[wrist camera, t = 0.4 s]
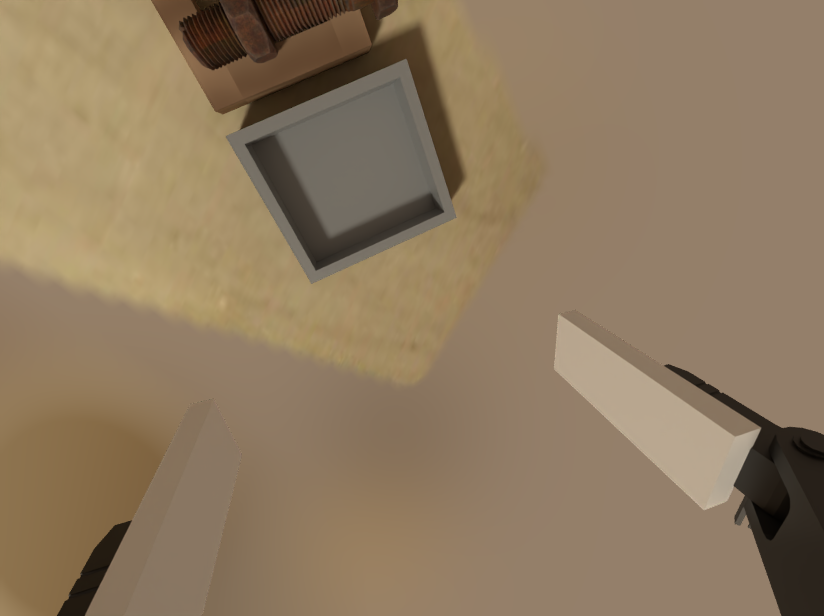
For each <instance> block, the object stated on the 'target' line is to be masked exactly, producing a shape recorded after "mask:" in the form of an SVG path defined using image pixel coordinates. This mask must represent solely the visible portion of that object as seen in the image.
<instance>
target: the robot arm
mask: <svg viewBox="0 0 824 616" xmlns="http://www.w3.org/2000/svg"><path fill="white" fill-rule="evenodd" d="M557 328H558V329H557V340H556V351H555V365H554V369H555V370H556V371H557V372H558V373H559V374H560V375H561V376H562V377H563V378H564V379H565V380H566V381H567V382H568V383H570V384H571V385H572V386H573V387H574V388H575V389H576V390H577V391H578V392H579V393H580V394H581V395H582V396H584V398H585V399H586V400H588V401H589V402H590V403H591V404H592V405H593V406H594V407H595V408H596V409H597V410H598V411H599V412H600V413H601V414H602V415H603V416H605V417H606V418H607V419H608V420H609V421H610V422H611V423H612V424H613V425H614V426H615V427H616V428H617V429H618V430H619V431H620V432H622V433H623V434H624V435H625V436H626V437H627V438H628V439H629V440H630V441H631V442H632V443H633V444H634V445H635V446H636V447H637V448H638V449H640V450H641V451H642V452H643V453H644V454H645V455H646V456H647V457H648V458H649V459H650V460H651V461H652V462H654V464H656V466H658V467H659V468H660V469H661V470H662V471H663V472H664V473H665V474H666V475H667V476H668V477H669V478H670V479H672V481H673V482H675V483H676V484H677V485H678V486H679V487H680V488H681V489H682V490H683V491H684V492H685V493H686V494H687V495H688V496H689V497H690V498H692V499H693V500H694V501H695V502H696V503H697V504H698V505H699V506H700V507H701V508H702V509H703V510H705V509H708V508H711V507H713V506H716V505H719V504H721V503H724V502H727V500H728V498H729V496H730V494H731V492H732V490H733V488H734V486H735V487H736V488H737V489H738V490H739V491H741V492H742V493H743V494H744V495H745V497H744V499H743V501H742V503H741V505H740V507H739V509H738V511H737V513H736V515H735V524H737V525H741V523H742V521H743V519H744V517H745V515H747V518H748V520H749V525H748V528H750V529H752V532H753V535H754V538H755V541H756V544H757V547H758V549H759V552H760V555H761V558H762V561H763V564H764V567H765V570H766V572H767V575H768V578H769V581H770V584H771V587H772V590H773V592H774V596H775V599H776V601H777V604H778V607H779V610H780V613H781V616H824V435H823V434H821V433H818V432H815V431H812V430H808V429H804V428H796V427H787V428H781V427H779V426H777V425H775V424H773V423H772V422H770V421H769V420H767V419H765V418H764V417H762V416H760V415H759V414H757V413H756V412H754V411H752V410H750V409H749V408H747V407H746V406H744V405H742V404H741V403H739V402H737V401H736V400H734V399H733V398H731V397H729V396H728V395H726V394H724V393H720V392H719V390H718V389H716V388H714V387H713V386H711V385H709V384H706V383H705V382H704V381H703V380H701V379H699V378H698V377H696V376H694V375H693V374H691V373H689V372H688V371H685V370H682V369H680V368H677V367H675V366H672V365H669V364H668V365H665V366H663V365H661V364H660V363H658V362H657V361H655V360H654V359H652V358H651V357H649V356H647V355H646V354H644V353H643V352H641V351H639V350H638V349H636V348H635V347H633V346H631V345H630V344H628V343H627V342H625V341H624V340H622V339H621V338H619V337H617V336H616V335H614V334H613V333H611V332H610V331H608V330H606V329H605V328H603V327H602V326H600V325H598V324H597V323H595V322H594V321H592V320H591V319H589V318H587V317H586V316H584V315H583V314H581V313H579V312H578V311H576V310H573V311H569V312H565V313H561V314H559V315H558V327H557ZM241 456H242V453H241V451H240V449H239V447H238V445H237V443H236V442H235V439H234V437H233V435H232V433H231V431H230V429H229V427H228V425H227V424H226V421H225V419H224V418H223V416H222V414H221V411H220V410H219V407H218V405H217V403H216V401H215V400H214V399H209V400H206V401H201V402H197V403H193V404H190V405H189V407H188V409H187V411H186V413H185V415H184V417H183V419H182V421H181V423H180V425H179V427H178V429H177V431H176V433H175V435H174V437H173V439H172V441H171V443H170V446H169V447H168V450H167V451H166V454H165V455H164V457H163V459H162V461H161V463H160V466H159V468H158V470H157V472H156V474H155V476H154V478H153V480H152V482H151V484H150V486H149V488H148V490H147V492H146V494H145V496H144V498H143V500H142V502H141V504H140V506H139V508H138V510H137V512H136V514H135V516H134V518H133V520H131V521H128V522H125V523H121V524H118V525H115V526H114V527H113V528H112V529H111V530H110V532H109V533H108V534H107V535H106V536H105V537H104V538H103V539H102V541H101V542H100V543H99V544H98V545H97V546H96V547H95V549H94V550H93V552H92V554H91V556H90V558H89V559H88V561H87V563H86V565H85V566H84V568H83V570H82V572H81V577H80V578H79V579H77V581H76V583H75V584H74V586H73V588H72V590H71V591H70V593H69V599H68V600H66V601H65V602H64V604H63V606H62V608H61V610H60V611H59V613H58V615H57V616H202V615H203V611H204V606H205V602H206V598H207V594H208V590H209V586H210V582H211V578H212V574H213V570H214V566H215V562H216V558H217V554H218V550H219V546H220V542H221V537H222V534H223V530H224V526H225V521H226V517H227V513H228V509H229V505H230V501H231V497H232V493H233V489H234V485H235V481H236V477H237V472H238V469H239V465H240V461H241Z"/></svg>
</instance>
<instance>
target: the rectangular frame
mask: <svg viewBox="0 0 824 616" xmlns="http://www.w3.org/2000/svg"><path fill="white" fill-rule="evenodd" d="M151 1H152V3H153V4H154V6H155V8H156V10H157V11H158V13H159V15H160V16H161V18H162V20H163V22H164V23H165V25H166V27H167V29H168V30H169V32H170V34H171V36H172V37H173V39H174V41H175V42H176V44H177V46H178V48H179V49H180V51H181V53H182V55H183V56H184V58H185V60H186V62H187V63H188V65H189V67H190V68H191V70H192V72H193V74H194V75H195V77H196V79H197V81H198V82H199V84H200V86H201V88H202V89H203V91H204V93H205V94H206V96H207V98H208V100H209V101H210V103H211V105H212V107H213V108H214V110H215V111H216V112H218V113H221V114H225V113H227V112H229V111H232V110H234V109H237V108H239V107H241V106H244V105H246V104H248V103H251V102H253V101H255V100H258V99H260V98H262V97H265V96H267V95H269V94H272V93H274V92H277V91H279V90H281V89H284V88H286V87H288V86H291V85H293V84H295V83H298V82H300V81H302V80H305V79H307V78H309V77H312V76H314V75H317V74H319V73H321V72H324V71H326V70H328V69H331V68H333V67H335V66H338V65H340V64H342V63H345V62H347V61H349V60H352V59H354V58H357V57H359V56H361V55H364V54H366V53H368V52H369V50H370V48H371V46H372V43H371V40H370V37H369V35H368V32H367V29H366V26H365V23H364V20H363V17H362V15H361V12H360V9H358V10H356V11H350V12H347V11H346V12H345V14H344V13H343V12H341V16H340V15H339V14H338V13H337V17H335V16H333V19H331V18H330V17H329V20H328V21H327V20H326V22H325V23H322V24H320V25H317V26H315V27H313V28H310V29H308V30H306V31H303V32H301V33H298V34H296V35H294V36H291V37H289V38H287V39H284V40H283V41H279V43H278V42H277V43H275V44H276V47H277V50H278V55H277V57H276V58H274V59H271V60H269V61H267V62H264V63H255V62H254V61H253V60H252V59H251V58H250V57H249V55H246V57H244V56H243V57H242V59H240V58H238V61H236V60H234V62H231V63H230V64H226V66H222V68H220V67H219V69H215V70H211V69H209V68H206V67H204V66H203V65H201V64H200V63H199V61H198V60H197V59H196V58H195V57H194V56H193V54H192V53H191V52H190V51H189V49H188V48H187V46H186V44H185V43H184V41H183V33H182V32H181V31H180V30H179V21H182V22H183V17H184V18H186V19H187V16H190V17H192V14H194V15H196V12H198V13H200V14H201V10H200V9H199V7H198V5H197V3H196V1H195V0H151Z"/></svg>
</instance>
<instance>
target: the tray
mask: <svg viewBox="0 0 824 616" xmlns="http://www.w3.org/2000/svg"><path fill="white" fill-rule="evenodd" d="M226 138H227V139H228V141H229V143H230V145H231V146H232V148H233V150H234V151H235V153H236V155H237V157H238V158H239V160H240V162H241V163H242V165H243V167H244V169H245V170H246V172H247V174H248V176H249V177H250V179H251V181H252V182H253V184H254V186H255V188H256V189H257V191H258V193H259V194H260V196H261V198H262V200H263V201H264V203H265V205H266V206H267V208H268V210H269V212H270V213H271V215H272V217H273V218H274V220H275V222H276V224H277V225H278V227H279V229H280V231H281V232H282V234H283V236H284V237H285V239H286V241H287V243H288V244H289V246H290V248H291V249H292V251H293V253H294V255H295V256H296V258H297V260H298V261H299V263H300V265H301V267H302V268H303V270H304V272H305V273H306V275H307V277H308V279H309V280H310V282H311V284H312V283H314V282H317V281H319V280H321V279H323V278H325V277H328V276H330V275H332V274H334V273H336V272H339V271H341V270H343V269H345V268H347V267H349V266H352V265H354V264H356V263H358V262H360V261H363V260H365V259H367V258H369V257H371V256H374V255H376V254H378V253H380V252H382V251H384V250H387V249H389V248H391V247H393V246H395V245H398V244H400V243H402V242H404V241H406V240H409V239H411V238H413V237H415V236H417V235H419V234H422V233H424V232H426V231H428V230H430V229H433V228H435V227H437V226H439V225H441V224H444V223H446V222H448V221H450V220H452V219H454V218H457V217H456V214H455V211H454V208H453V205H452V201H451V198H450V195H449V192H448V189H447V185H446V182H445V179H444V176H443V173H442V170H441V166H440V163H439V160H438V157H437V154H436V151H435V147H434V144H433V141H432V138H431V135H430V132H429V128H428V125H427V122H426V119H425V116H424V112H423V109H422V106H421V103H420V100H419V97H418V93H417V90H416V87H415V84H414V81H413V78H412V74H411V71H410V68H409V65H408V62H407V59H404V60H402V61H400V62H397V63H395V64H393V65H390V66H388V67H386V68H383V69H381V70H379V71H376V72H374V73H372V74H369V75H367V76H365V77H362V78H360V79H358V80H355V81H353V82H351V83H348V84H346V85H344V86H341V87H339V88H337V89H334V90H332V91H330V92H327V93H325V94H323V95H320V96H318V97H316V98H313V99H311V100H309V101H306V102H304V103H302V104H299V105H297V106H295V107H292V108H290V109H288V110H285V111H283V112H281V113H278V114H276V115H274V116H271V117H269V118H267V119H264V120H262V121H260V122H257V123H255V124H253V125H250V126H248V127H246V128H243V129H241V130H239V131H236V132H234V133H232V134H229V135H227V136H226Z"/></svg>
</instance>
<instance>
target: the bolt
mask: <svg viewBox="0 0 824 616" xmlns="http://www.w3.org/2000/svg"><path fill="white" fill-rule="evenodd" d="M220 2H221V3H220ZM220 2H219V6H218V5H216V4H214V8H213V7H212V6H209V7H210V10H209V9H207V8H205V11H203V10H201V14H200V13H198V12H196V15H194V14H192V17H190V16H187V19H186V18H184V17H183V22H182V21H179V30H180V31H181V32H182V33H183V41H184V43H185V44H186V46H187V48H188V49H189V51H190V52H191V53H192V54H193V56H194V57H195V58H196V59H197V60H198V61H199V63H200V64H201V65H203V66H204V67H206V68H209V69H211V70H215V69H219V67H220V68H222V66H226V64H230V63H231V62H234V60H236V61H238V58H240V59H242V56H244V57H246V54H248V55H249V57H250V58H251V59H252V60H253V61H254V62H255V63H264V62H267V61H269V60H271V59H274V58H276V57H277V55H278V50H277V47H276V44H275V41H276V42H278V43H279V39H280V40H282V41H283V37H284V38H286V39H287V35H288V36H289V37H291V33H292V34H294V35H295V33H296V31H297V32H298V33H300V29H301V30H302V31H304V27H305V28H306V29H308V25H309V26H310V27H311V28H312V24H313V25H314V26H316V22H317V23H318V24H319V25H320V21H322V22H323V23H324V22H325V19H326V20H327V21H328V20H329V17H330V18H331V19H333V16H335V17H337V13H338V14H339V15H340V16H341V12H343V13H344V14H345V12H346V11H347V12H350V11H356V10H358V9H361V8H363V7H365V6H368V5H370V4H371V7H372V9H373V12H374V14H375V17H376V19H377V20H379V19H381V18H383V17H386V16H388V15H390V14H391V13H393V12H394V11H395V10H396V9H397V7H398V0H220Z"/></svg>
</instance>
